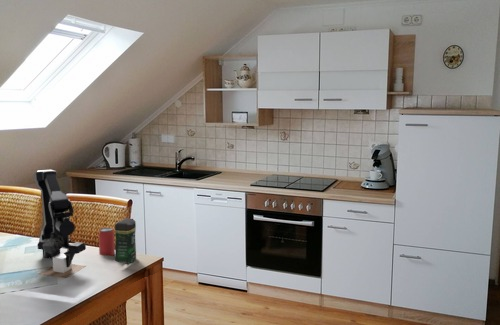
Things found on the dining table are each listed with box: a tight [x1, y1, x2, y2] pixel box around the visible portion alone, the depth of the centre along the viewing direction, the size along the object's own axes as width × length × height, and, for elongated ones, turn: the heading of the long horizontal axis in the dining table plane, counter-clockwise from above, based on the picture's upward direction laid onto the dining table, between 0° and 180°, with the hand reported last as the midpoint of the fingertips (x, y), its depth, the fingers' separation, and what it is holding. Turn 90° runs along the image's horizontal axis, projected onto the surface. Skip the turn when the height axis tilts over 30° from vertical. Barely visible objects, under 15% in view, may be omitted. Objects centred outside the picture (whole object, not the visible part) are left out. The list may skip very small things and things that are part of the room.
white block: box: [52, 252, 73, 273], centre depth 182 cm, size 5×5×6 cm
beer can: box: [98, 227, 116, 257], centre depth 204 cm, size 7×7×12 cm
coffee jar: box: [114, 217, 137, 265], centre depth 196 cm, size 10×8×19 cm
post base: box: [38, 263, 87, 279], centre depth 183 cm, size 13×13×4 cm
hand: (62, 266), depth 183 cm, fingers closed on white block, 5 cm apart
